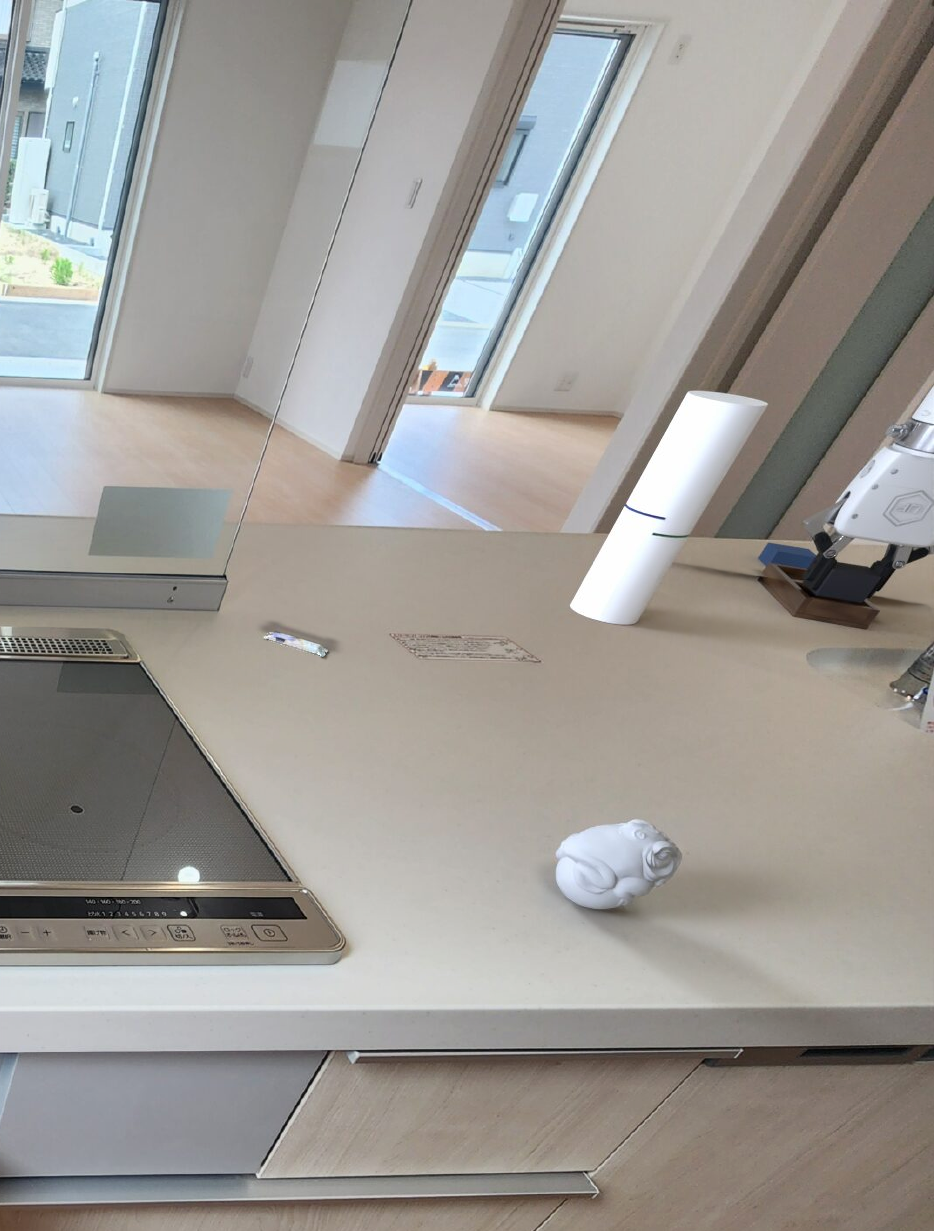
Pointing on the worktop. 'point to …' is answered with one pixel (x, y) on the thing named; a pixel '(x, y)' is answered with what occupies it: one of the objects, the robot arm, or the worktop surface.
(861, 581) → the pad charcoal
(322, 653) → the granola bar
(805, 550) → the pad blue
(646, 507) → the cylindrical container
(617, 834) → the frog figurine
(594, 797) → the worktop surface
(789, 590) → the holder
